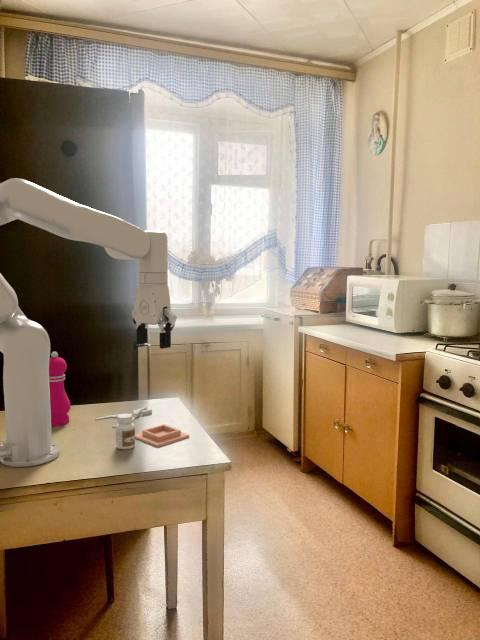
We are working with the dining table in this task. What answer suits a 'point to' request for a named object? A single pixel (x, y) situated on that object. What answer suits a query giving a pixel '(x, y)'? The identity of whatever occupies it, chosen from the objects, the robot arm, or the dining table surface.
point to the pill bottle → (125, 432)
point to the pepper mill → (58, 391)
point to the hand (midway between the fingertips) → (153, 345)
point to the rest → (161, 435)
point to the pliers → (135, 414)
